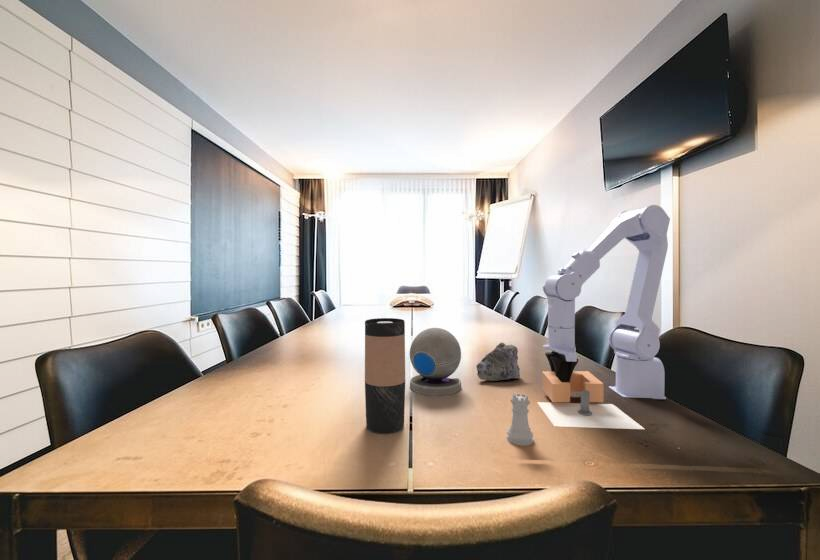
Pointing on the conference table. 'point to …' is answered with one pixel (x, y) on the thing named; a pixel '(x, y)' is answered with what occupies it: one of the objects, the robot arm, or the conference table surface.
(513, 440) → the rook chess piece
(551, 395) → the c link
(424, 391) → the webcam
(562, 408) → the stand
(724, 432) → the conference table surface
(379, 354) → the travel mug
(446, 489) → the conference table surface
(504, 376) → the mineral rock
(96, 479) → the conference table surface
